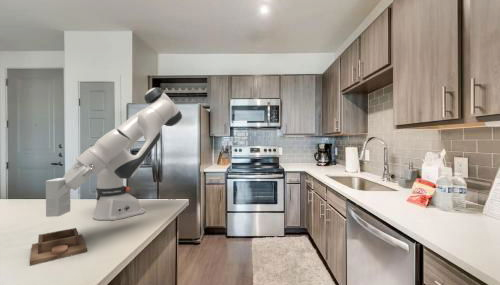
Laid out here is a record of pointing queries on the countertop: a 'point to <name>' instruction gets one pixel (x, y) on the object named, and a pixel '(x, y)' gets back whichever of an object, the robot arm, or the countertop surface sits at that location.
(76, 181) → the robot arm
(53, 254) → the organiser tray
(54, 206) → the skincare box
